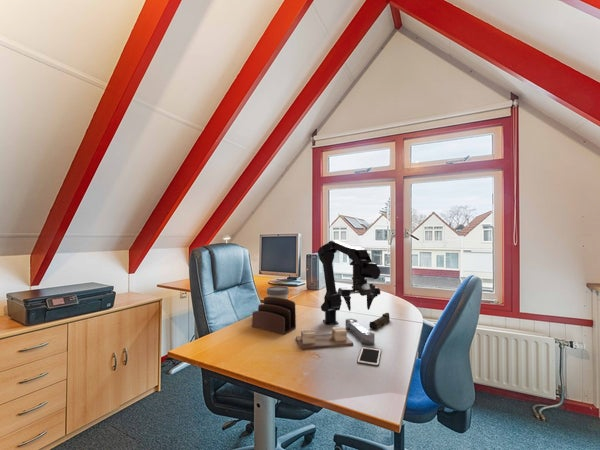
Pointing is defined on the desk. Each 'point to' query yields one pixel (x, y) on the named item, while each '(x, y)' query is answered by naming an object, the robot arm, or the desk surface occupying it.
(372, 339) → the grey long block
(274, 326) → the letter holder
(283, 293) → the reusable coffee cup
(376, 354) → the cell phone
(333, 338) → the tool rack
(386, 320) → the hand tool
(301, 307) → the desk surface
